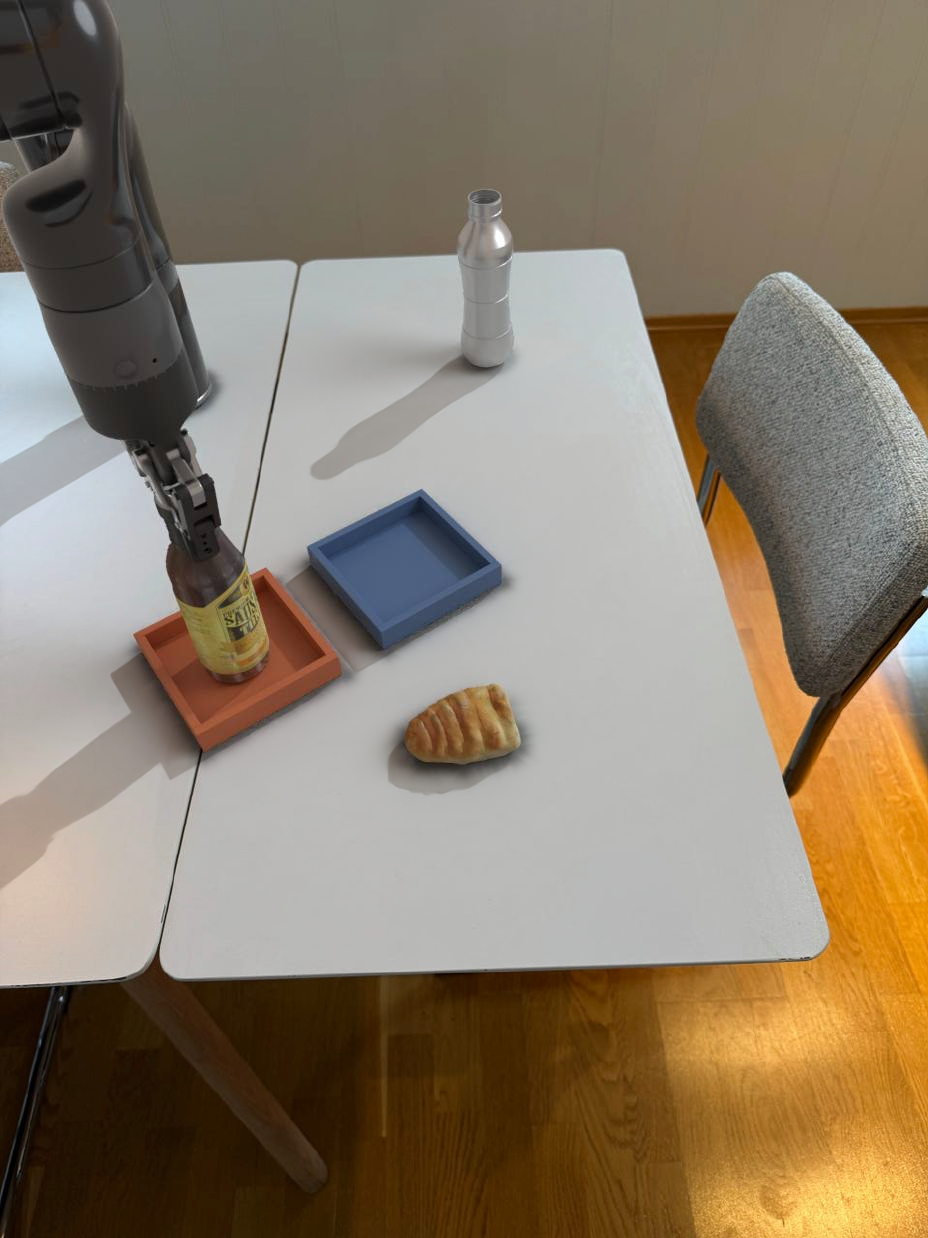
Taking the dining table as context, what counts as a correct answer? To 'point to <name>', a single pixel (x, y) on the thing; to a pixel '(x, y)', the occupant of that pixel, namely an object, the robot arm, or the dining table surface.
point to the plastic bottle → (486, 281)
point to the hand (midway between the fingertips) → (193, 538)
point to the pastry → (464, 727)
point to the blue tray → (404, 567)
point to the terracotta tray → (234, 707)
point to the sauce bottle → (217, 606)
